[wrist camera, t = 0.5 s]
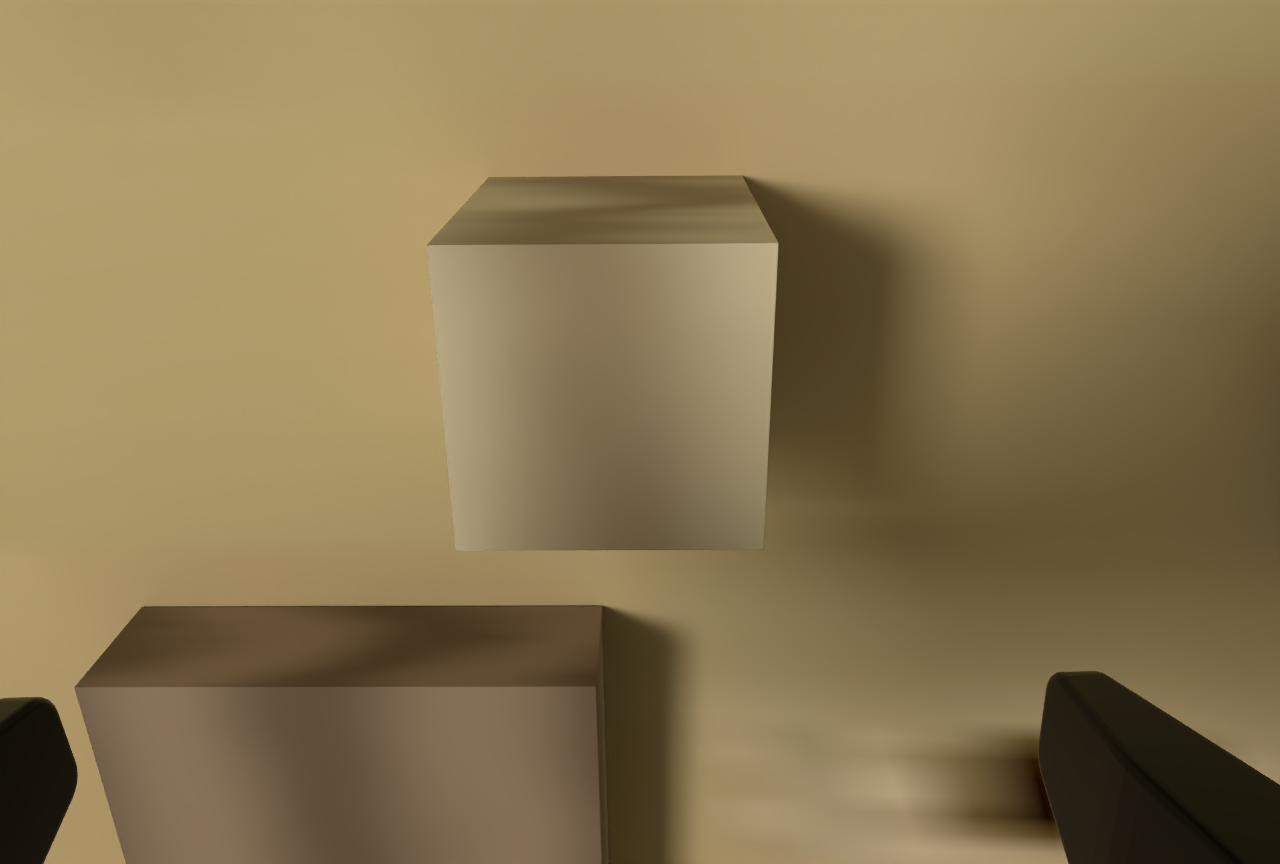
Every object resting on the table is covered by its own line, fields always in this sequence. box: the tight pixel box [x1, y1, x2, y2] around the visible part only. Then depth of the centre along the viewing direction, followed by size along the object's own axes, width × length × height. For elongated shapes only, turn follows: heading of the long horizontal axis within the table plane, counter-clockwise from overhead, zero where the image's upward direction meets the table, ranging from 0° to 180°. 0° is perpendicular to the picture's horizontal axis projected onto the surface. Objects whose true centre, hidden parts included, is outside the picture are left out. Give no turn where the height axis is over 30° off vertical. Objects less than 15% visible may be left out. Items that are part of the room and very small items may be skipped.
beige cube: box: [427, 176, 778, 550], centre depth 18 cm, size 5×5×6 cm
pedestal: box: [75, 606, 609, 864], centre depth 24 cm, size 11×11×3 cm
